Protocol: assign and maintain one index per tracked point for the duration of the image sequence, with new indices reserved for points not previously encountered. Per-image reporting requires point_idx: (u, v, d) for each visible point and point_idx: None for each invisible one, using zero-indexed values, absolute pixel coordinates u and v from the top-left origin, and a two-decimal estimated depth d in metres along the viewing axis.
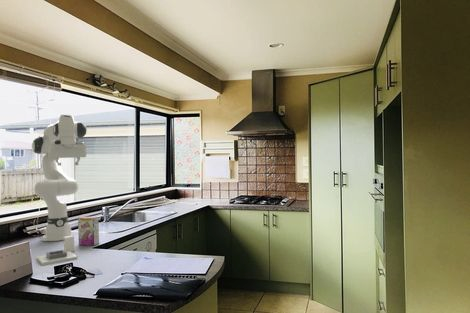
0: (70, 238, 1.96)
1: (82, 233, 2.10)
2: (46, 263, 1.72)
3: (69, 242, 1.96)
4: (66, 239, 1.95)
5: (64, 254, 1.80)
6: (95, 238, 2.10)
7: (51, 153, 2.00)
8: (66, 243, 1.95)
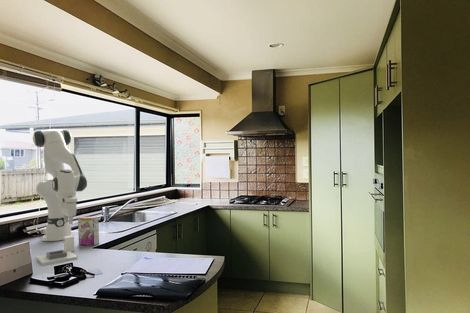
0: (70, 238, 1.96)
1: (82, 233, 2.10)
2: (46, 263, 1.72)
3: (69, 242, 1.96)
4: (66, 239, 1.95)
5: (64, 254, 1.80)
6: (95, 238, 2.10)
7: None
8: (66, 243, 1.95)
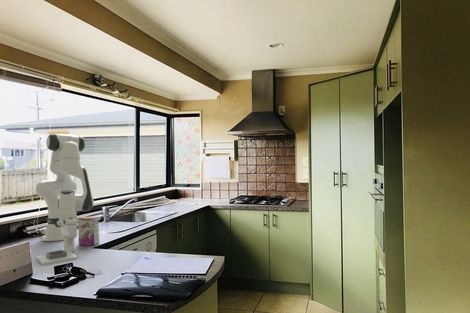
0: None
1: (82, 233, 2.10)
2: (46, 263, 1.72)
3: None
4: (66, 239, 1.95)
5: (64, 254, 1.80)
6: (95, 238, 2.10)
7: None
8: (66, 243, 1.95)
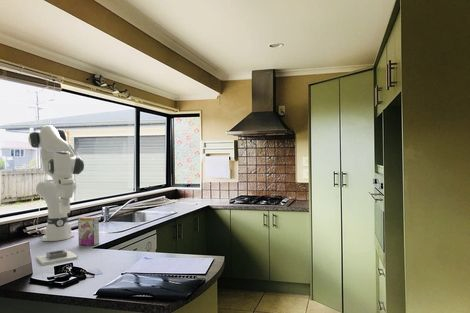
0: None
1: (82, 233, 2.10)
2: (46, 263, 1.72)
3: None
4: (62, 200, 1.91)
5: (64, 254, 1.80)
6: (95, 238, 2.10)
7: None
8: (62, 204, 1.91)
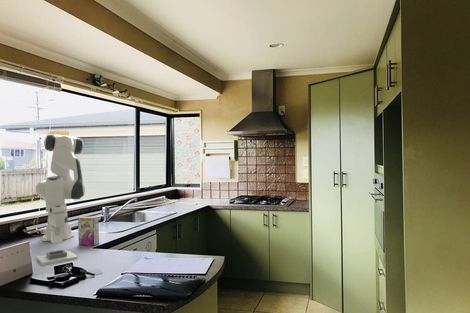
0: None
1: (82, 233, 2.10)
2: (46, 263, 1.72)
3: None
4: (53, 229, 1.79)
5: (64, 254, 1.80)
6: (95, 238, 2.10)
7: None
8: (53, 233, 1.79)
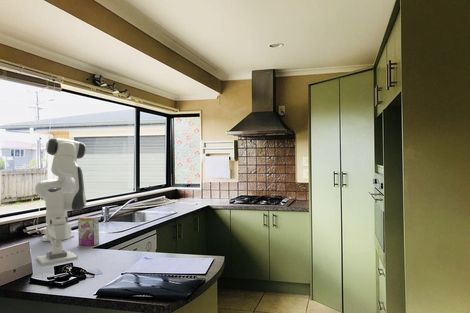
0: None
1: (82, 233, 2.10)
2: (46, 263, 1.72)
3: None
4: (53, 244, 1.79)
5: (64, 254, 1.80)
6: (95, 238, 2.10)
7: None
8: (53, 248, 1.79)
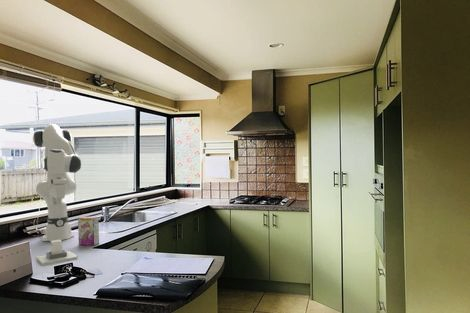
0: (58, 242, 1.80)
1: (82, 233, 2.10)
2: (46, 263, 1.72)
3: (57, 247, 1.80)
4: (53, 244, 1.79)
5: (64, 254, 1.80)
6: (95, 238, 2.10)
7: None
8: (53, 248, 1.79)
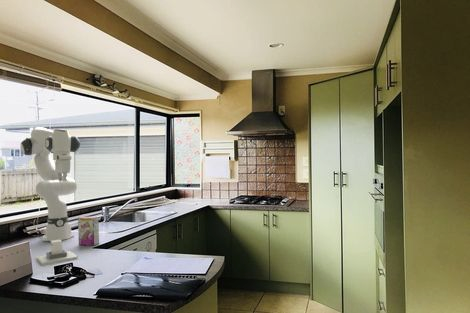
0: (58, 242, 1.80)
1: (82, 233, 2.10)
2: (46, 263, 1.72)
3: (57, 247, 1.80)
4: (53, 244, 1.79)
5: (64, 254, 1.80)
6: (95, 238, 2.10)
7: None
8: (53, 248, 1.79)
